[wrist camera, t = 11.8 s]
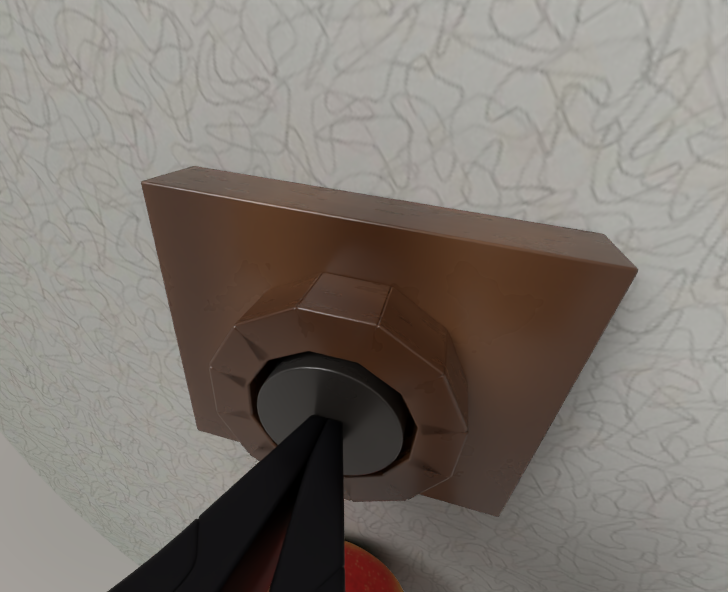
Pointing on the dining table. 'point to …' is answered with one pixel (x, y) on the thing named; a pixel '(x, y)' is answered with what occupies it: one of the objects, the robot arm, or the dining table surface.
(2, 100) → the dining table surface
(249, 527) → the robot arm
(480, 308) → the button block
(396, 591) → the apple
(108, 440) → the dining table surface
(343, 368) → the button
